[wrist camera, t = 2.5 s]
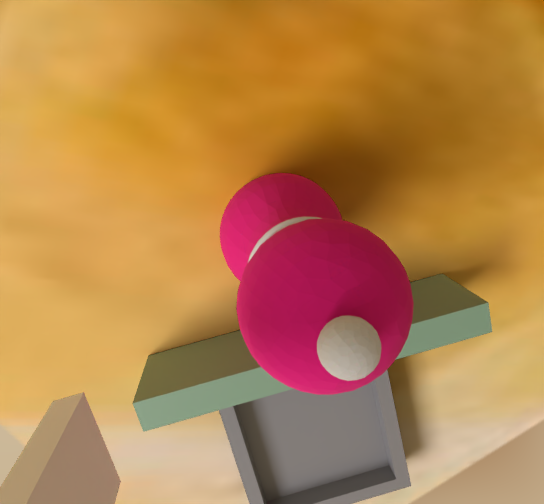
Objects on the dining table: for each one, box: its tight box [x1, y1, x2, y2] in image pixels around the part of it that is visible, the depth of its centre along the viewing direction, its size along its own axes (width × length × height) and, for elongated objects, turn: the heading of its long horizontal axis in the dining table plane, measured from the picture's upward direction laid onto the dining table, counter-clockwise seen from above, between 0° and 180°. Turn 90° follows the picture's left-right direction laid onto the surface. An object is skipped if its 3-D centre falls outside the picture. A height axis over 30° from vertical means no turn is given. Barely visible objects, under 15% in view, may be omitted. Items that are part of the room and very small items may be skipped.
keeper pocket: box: [219, 370, 411, 504], centre depth 34 cm, size 12×12×2 cm
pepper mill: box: [220, 173, 414, 395], centre depth 21 cm, size 7×7×20 cm
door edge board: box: [133, 274, 492, 431], centre depth 30 cm, size 22×2×6 cm, turn 104°
